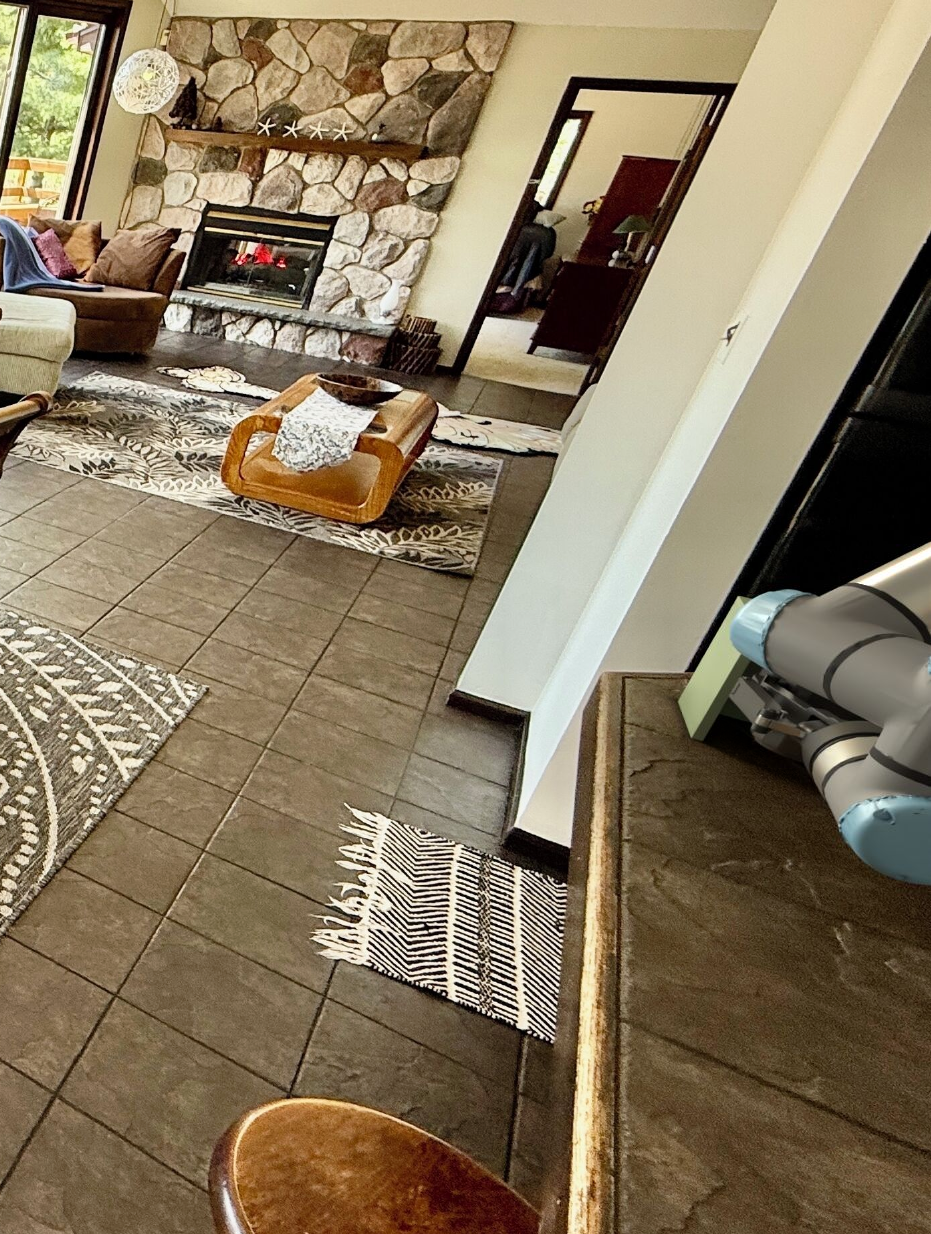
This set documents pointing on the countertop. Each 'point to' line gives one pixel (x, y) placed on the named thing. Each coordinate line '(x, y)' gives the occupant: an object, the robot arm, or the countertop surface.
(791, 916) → the countertop surface
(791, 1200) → the countertop surface
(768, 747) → the black cylinder
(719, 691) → the u-shaped block
